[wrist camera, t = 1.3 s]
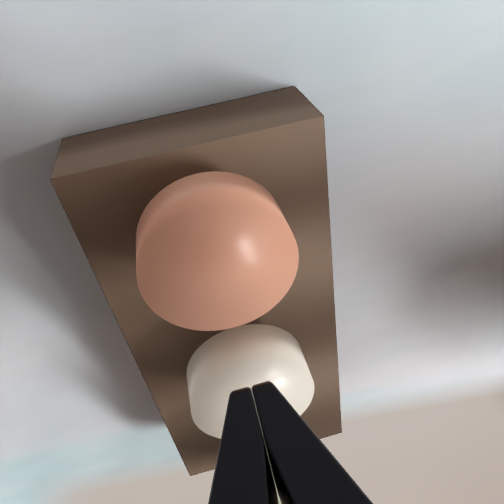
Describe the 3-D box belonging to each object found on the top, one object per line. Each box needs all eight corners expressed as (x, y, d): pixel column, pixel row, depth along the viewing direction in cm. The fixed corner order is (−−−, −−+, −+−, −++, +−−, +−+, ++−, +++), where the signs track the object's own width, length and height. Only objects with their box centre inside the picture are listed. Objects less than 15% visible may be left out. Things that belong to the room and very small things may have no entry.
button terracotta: (114, 192, 12) (112, 224, 11) (274, 154, 13) (290, 181, 11) (159, 309, 15) (162, 346, 14) (290, 276, 15) (304, 308, 14)
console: (62, 138, 15) (49, 178, 13) (295, 86, 16) (323, 115, 13) (184, 424, 25) (190, 476, 23) (322, 385, 26) (341, 432, 24)
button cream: (173, 343, 16) (176, 380, 15) (295, 311, 16) (310, 344, 15) (200, 415, 18) (206, 452, 17) (305, 386, 19) (318, 420, 18)
